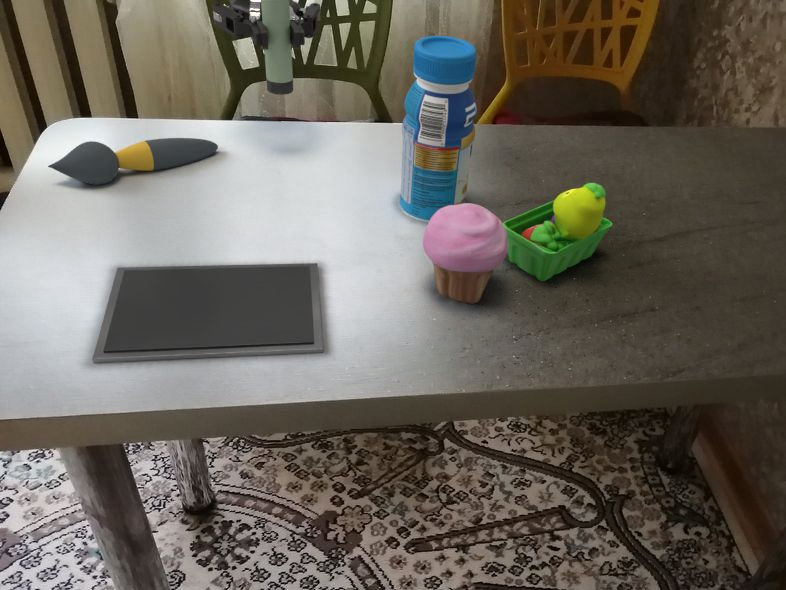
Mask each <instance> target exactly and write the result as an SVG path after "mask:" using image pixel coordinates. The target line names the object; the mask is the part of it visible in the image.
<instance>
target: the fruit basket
mask: <svg viewBox="0 0 786 590" xmlns="http://www.w3.org/2000/svg"><path fill="white" fill-rule="evenodd" d="M606 193H607V192H606V190H605V188H604V186H602V185H600V184H598V183H596V182H588V183H586V184H584V185H583V186H582V187H578V188H572V189H569V190H565V191H563V192H561V193H559V194H558V195H557V196H556V198H555V199H554V200H551V201H549V202H547V203H544V204H542V205H540V206H538V207H535V208H533V209H530V210H527V211H526V212H524V213H521V214H519V215H517V216H515V217H512V218H509V219H507V220H505V221H502V223H503V225H504V228H505V229H506V232H507V242H508V250H507V254H508V261H509V262H510V263H512V264H514V265H516V266H518V268H520V269H521V270H523V271H524V272H526V273H527V274H529V275H531V276H534V277H535V278H536V279H537V280H539V281H541V282H545V281H547V280H549V279H551V278H552V277H553V276H555V275H558V274H560V273H563V272H564V271H566V270H567V268H570V267H573V266H575V265H578V264H579V263H580V262H581V261H583V260H587V259H588V258H591V257H592V256H593V254H594V253H595V251H596V249H597V248H598V246H599V245H600V243H601V241H602V240H603V238H604V237H605V235H606V233H608V232H609V230H610V229H611V227H612V226H613V223H612V221H610V220H609V219H607V218H606V217H604V210H605V208H606V196H607V194H606Z"/></svg>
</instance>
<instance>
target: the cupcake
mask: <svg viewBox="0 0 786 590" xmlns="http://www.w3.org/2000/svg"><path fill="white" fill-rule="evenodd" d="M422 248H423V250H424V252H425V254H426V256H427V257H428V259H429V260H430V261H431V262H432V265H433V270H434V276H435V277H434V278H435V283H436V289H437V292H438V293H439V294H440V295H441V296H442V297H445V298H448V299H451V300H453V301H457V302H461V303H464V304H471V305H473V304H477V303H478V302H479V301H480V300H481V298H482V295H483V294H484V291H485V290H486V287H487V284H488V282H489V280H490V278H491V277H492V275H493V272H494V270H496V269H497V268H498V267H499V266H500V265H501V263H502V262H503V261H504V259H505V258H506V256H507V254H508V242H507V232H506V229H505V228H504V225H503V221H502V220H501V219H500V217H498V216H497V215H495V214H494V213H493V212H492V211H490V210H489V209H487V208H486V207H483V206H482V205H480V204H476V203H471V202H466V203H463V204H458V205H449V206H445V207H443V208H441V209H439V210H438V211H437V212H436V213H435V214H434V215H433V216H432V217H431V219H430V221H429V222H427V225H426V227H425V229H424V234H423V238H422Z"/></svg>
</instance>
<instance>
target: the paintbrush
mask: <svg viewBox="0 0 786 590" xmlns="http://www.w3.org/2000/svg"><path fill="white" fill-rule="evenodd" d="M218 149H219V145H218V143H216V142H214V141H212V140H208V139H203V138H194V137H166V138H153V139H147V140H143V141H139V142H136V143H134V144H132V145H129V146H127V147H124V148H122V149H120V150H117V151H116V152H115V151H114V150H113V149H111V148H110V147H109V146H108V145H107V144H104V143H102V142H99V141H91V140H90V141H84V142H82V143H81V144H78V145H77V146H76V147H74V148H73V149H72V150H70V151H69V152H68V153H66V155H64V156H63V157H62V158H60V159H59V160H57V161H55V162H53V163H51V164H49V165H48V166H47V167H48V168H51V169H52V170H55V171H57V172H59V173H60V174H63V175H65V176H67V177H69V178H72V179H74V180H77V181H79V182H82V183H86V184H89V185H94V186H101V185H107V184H108V183H110V182H111V181H113V179H115V177H116V176H117V175H118V173H119V170H120V169H123V170H131V171H140V172H141V171H142V172H143V171H144V172H155V171H161V170H167V169H171V168H176V167H181V166H184V165H187V164H190V163H194V162H197V161H201V160H203V159H206V158H208V157H210V156H212V154H214V153H216V152H217V150H218Z"/></svg>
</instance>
